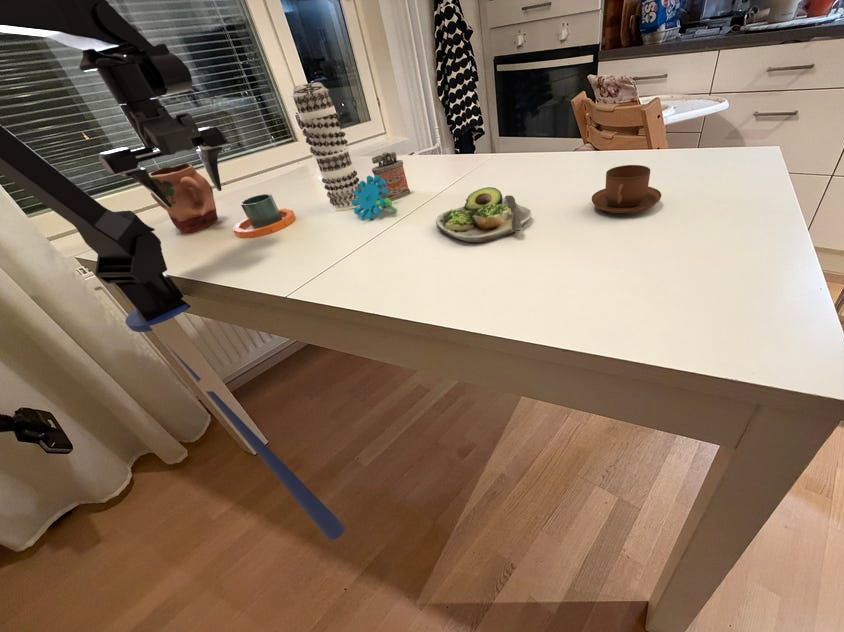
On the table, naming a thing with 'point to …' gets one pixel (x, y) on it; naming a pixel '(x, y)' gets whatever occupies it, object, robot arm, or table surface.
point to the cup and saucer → (626, 190)
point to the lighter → (391, 175)
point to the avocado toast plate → (484, 217)
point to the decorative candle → (327, 143)
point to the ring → (267, 229)
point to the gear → (371, 198)
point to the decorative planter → (186, 197)
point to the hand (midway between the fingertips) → (195, 198)
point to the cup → (261, 210)
